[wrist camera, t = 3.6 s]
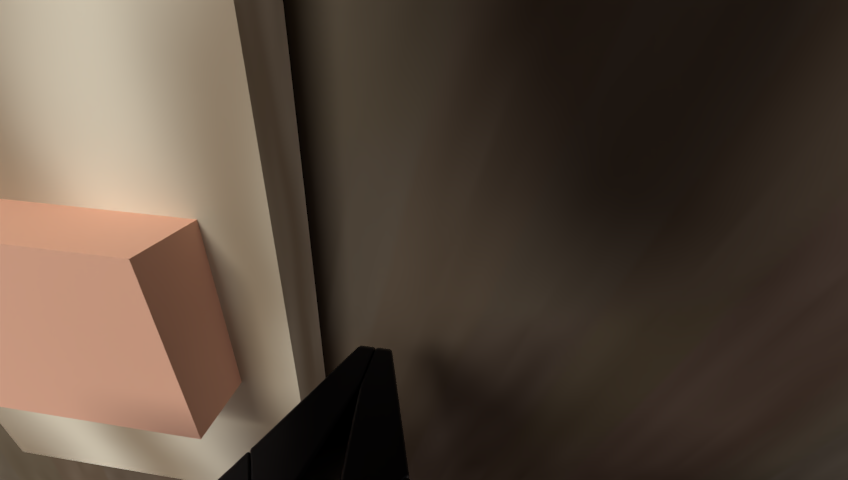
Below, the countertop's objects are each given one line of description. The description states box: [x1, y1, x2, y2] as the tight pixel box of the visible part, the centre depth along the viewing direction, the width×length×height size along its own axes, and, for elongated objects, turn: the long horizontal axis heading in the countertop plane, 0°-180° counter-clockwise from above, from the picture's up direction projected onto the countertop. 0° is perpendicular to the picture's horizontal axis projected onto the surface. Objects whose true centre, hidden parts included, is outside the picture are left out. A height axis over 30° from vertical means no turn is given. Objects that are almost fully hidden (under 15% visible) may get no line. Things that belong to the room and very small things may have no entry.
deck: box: [0, 0, 326, 480], centre depth 12 cm, size 14×20×2 cm
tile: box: [0, 199, 242, 439], centre depth 10 cm, size 9×6×2 cm, turn 87°
